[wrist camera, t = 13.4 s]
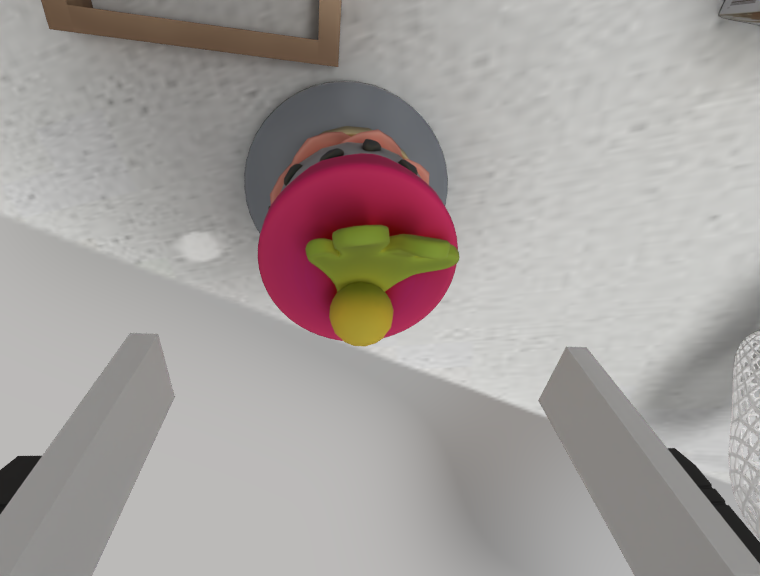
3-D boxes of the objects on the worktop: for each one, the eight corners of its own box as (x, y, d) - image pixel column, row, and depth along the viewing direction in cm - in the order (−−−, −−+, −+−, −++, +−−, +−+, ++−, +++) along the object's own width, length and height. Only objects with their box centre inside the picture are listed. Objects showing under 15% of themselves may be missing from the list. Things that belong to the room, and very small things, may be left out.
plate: (239, 66, 24) (235, 67, 23) (463, 95, 26) (468, 97, 25) (253, 270, 32) (251, 277, 31) (424, 278, 34) (427, 285, 33)
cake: (421, 251, 31) (479, 390, 19) (294, 264, 31) (265, 416, 18) (422, 114, 25) (507, 182, 13) (265, 126, 25) (194, 209, 12)
